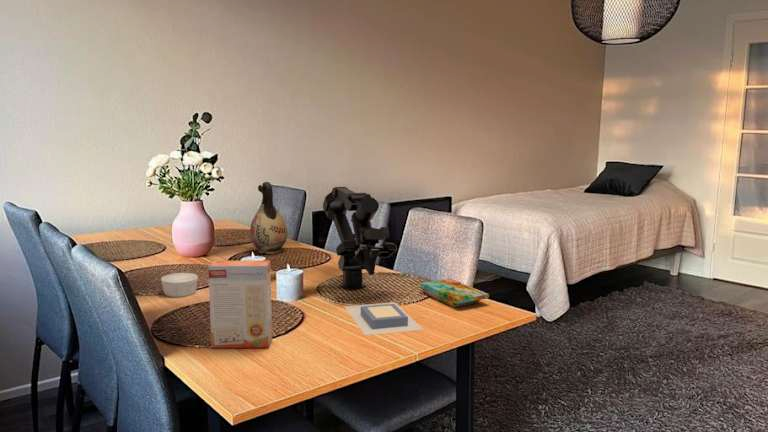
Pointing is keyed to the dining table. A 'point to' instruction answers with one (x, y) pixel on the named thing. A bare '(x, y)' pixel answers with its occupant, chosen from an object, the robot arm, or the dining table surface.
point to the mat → (367, 330)
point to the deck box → (384, 316)
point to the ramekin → (179, 284)
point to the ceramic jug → (268, 224)
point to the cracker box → (240, 304)
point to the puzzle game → (452, 292)
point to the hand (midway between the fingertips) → (372, 274)
